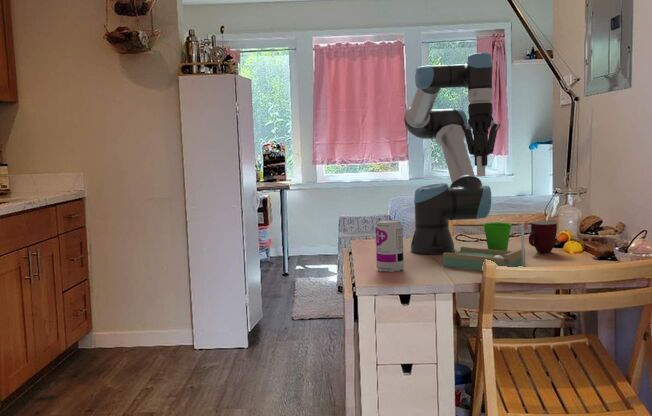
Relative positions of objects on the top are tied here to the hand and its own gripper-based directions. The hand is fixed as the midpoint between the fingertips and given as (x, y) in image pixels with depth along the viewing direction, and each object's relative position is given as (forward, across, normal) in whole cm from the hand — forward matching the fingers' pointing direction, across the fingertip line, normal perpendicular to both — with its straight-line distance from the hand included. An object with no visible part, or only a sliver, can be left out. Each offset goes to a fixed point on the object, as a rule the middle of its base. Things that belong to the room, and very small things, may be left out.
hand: (481, 176), depth 192 cm
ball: (+26, +14, -13) cm, 33 cm away
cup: (+27, +5, +1) cm, 27 cm away
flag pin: (+26, +20, -10) cm, 35 cm away
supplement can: (+27, -12, -33) cm, 44 cm away
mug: (+27, +13, +16) cm, 34 cm away
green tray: (+27, +8, -13) cm, 31 cm away
